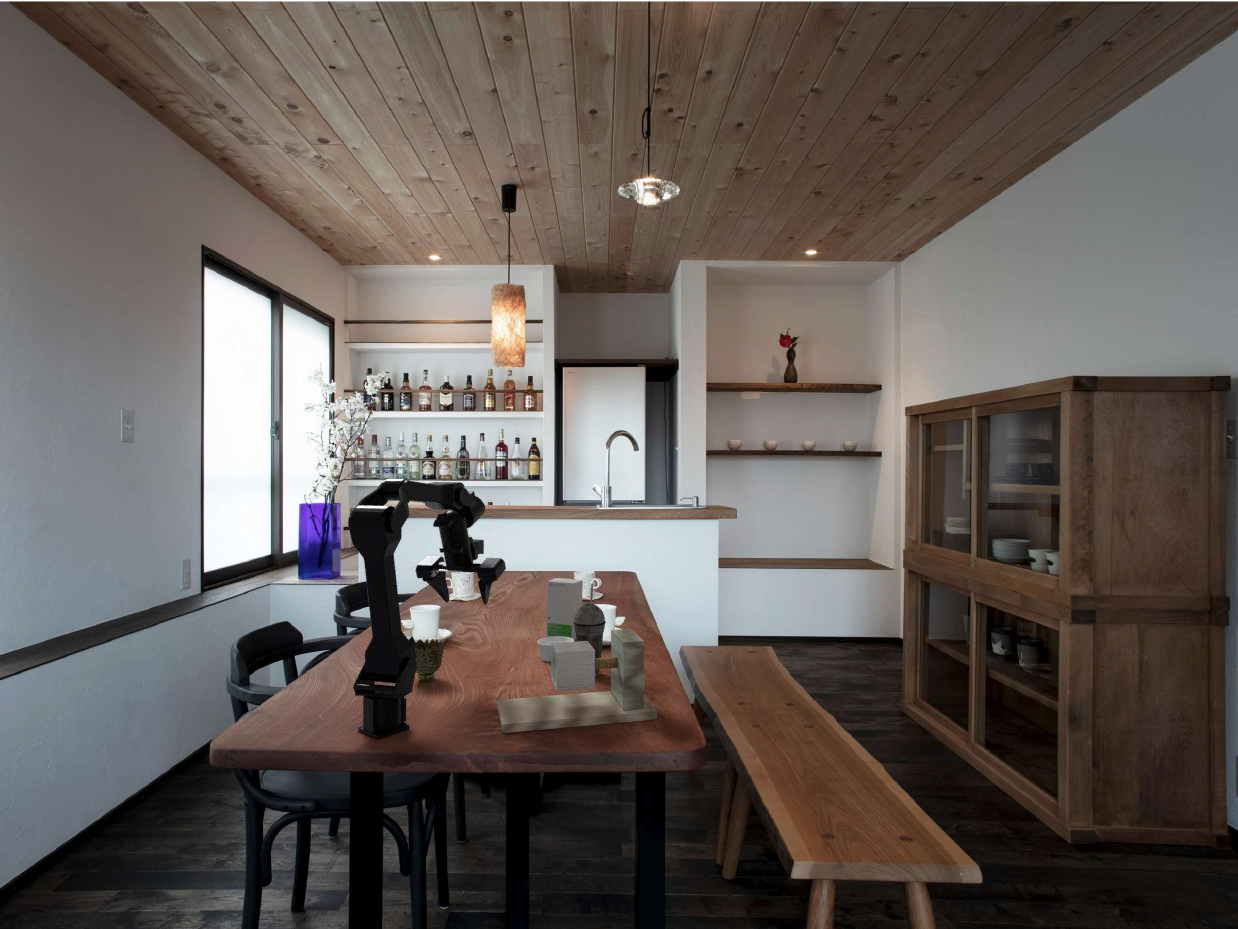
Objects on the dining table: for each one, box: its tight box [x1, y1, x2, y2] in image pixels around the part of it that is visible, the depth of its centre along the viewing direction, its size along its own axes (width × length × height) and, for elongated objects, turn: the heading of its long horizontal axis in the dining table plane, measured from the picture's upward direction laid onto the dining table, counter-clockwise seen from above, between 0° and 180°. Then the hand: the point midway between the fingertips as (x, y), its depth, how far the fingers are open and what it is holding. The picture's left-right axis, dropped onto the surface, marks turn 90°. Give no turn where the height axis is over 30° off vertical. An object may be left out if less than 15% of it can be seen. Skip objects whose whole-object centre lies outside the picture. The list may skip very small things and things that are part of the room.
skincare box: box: [545, 577, 584, 641], centre depth 187 cm, size 8×7×16 cm
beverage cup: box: [573, 583, 606, 678], centre depth 154 cm, size 7×7×20 cm
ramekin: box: [536, 636, 575, 663], centre depth 167 cm, size 9×9×4 cm
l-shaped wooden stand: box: [496, 628, 658, 734], centre depth 129 cm, size 28×13×14 cm, turn 104°
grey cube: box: [550, 641, 596, 692], centre depth 129 cm, size 7×7×7 cm
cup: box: [415, 638, 445, 682], centre depth 149 cm, size 8×7×8 cm
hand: (466, 602), depth 151 cm, fingers open, 9 cm apart
